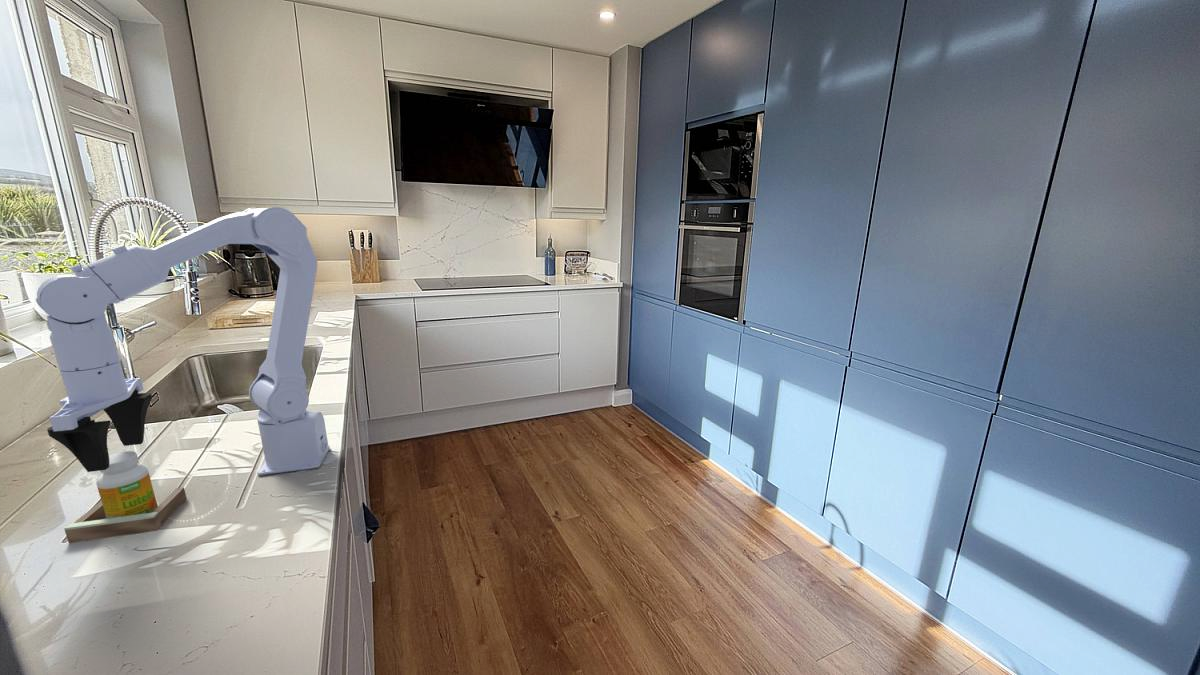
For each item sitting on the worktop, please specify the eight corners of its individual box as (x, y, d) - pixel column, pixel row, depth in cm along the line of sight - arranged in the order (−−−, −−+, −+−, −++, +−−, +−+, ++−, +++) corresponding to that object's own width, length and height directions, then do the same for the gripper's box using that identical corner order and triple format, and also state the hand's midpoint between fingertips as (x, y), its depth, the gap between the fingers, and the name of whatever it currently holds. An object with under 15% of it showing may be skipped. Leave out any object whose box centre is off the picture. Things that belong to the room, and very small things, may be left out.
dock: (186, 498, 76) (183, 485, 76) (157, 530, 69) (153, 515, 68) (108, 509, 74) (104, 495, 73) (68, 542, 66) (64, 528, 66)
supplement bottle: (128, 531, 69) (110, 469, 66) (98, 526, 70) (79, 465, 67) (168, 508, 74) (152, 450, 71) (139, 504, 75) (123, 447, 72)
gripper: (92, 352, 71) (116, 437, 75) (5, 386, 58) (40, 487, 61) (150, 348, 73) (170, 431, 77) (79, 380, 60) (108, 479, 63)
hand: (116, 456), depth 69 cm, fingers open, 7 cm apart
